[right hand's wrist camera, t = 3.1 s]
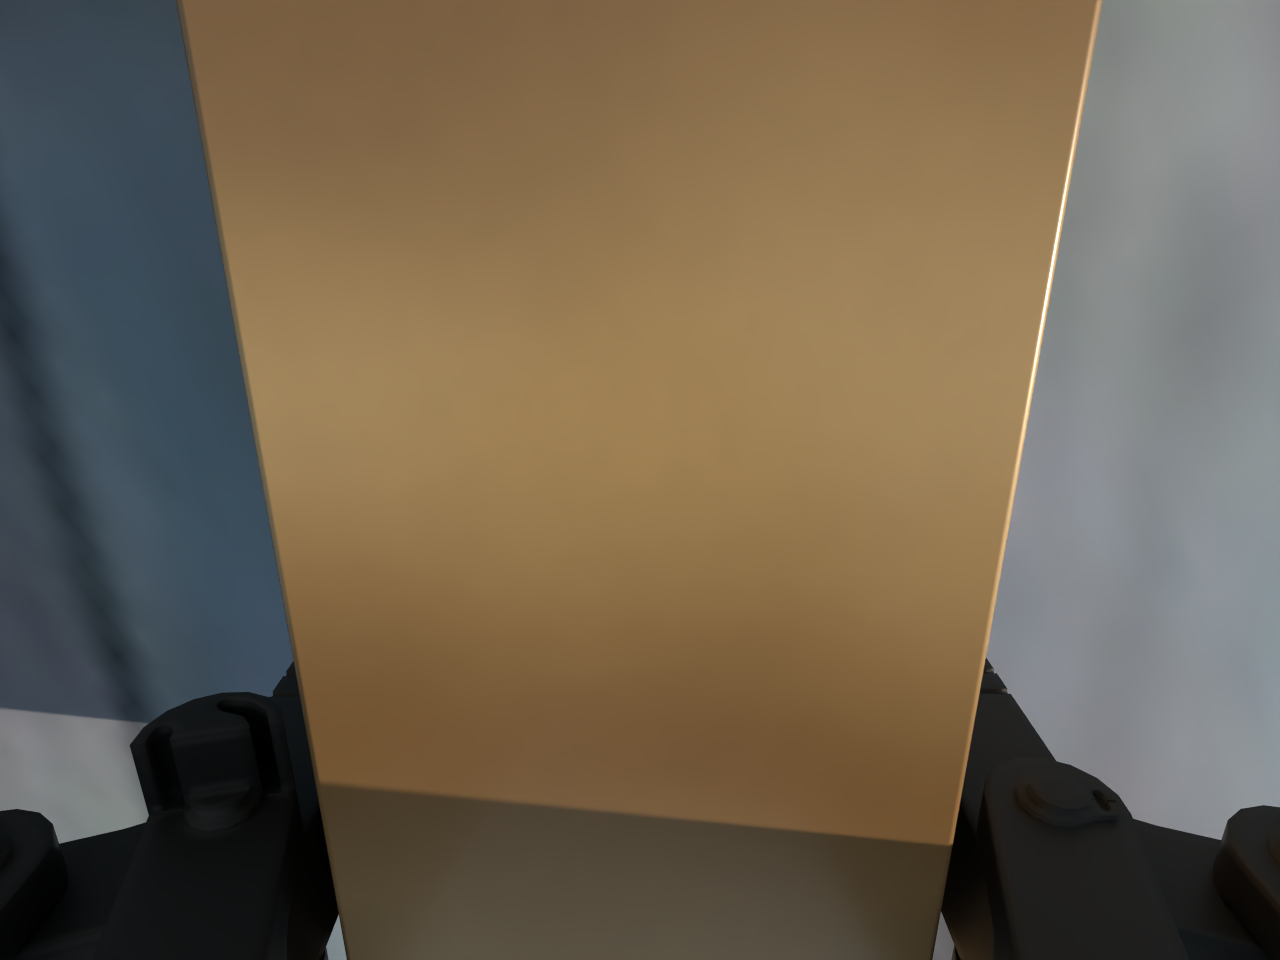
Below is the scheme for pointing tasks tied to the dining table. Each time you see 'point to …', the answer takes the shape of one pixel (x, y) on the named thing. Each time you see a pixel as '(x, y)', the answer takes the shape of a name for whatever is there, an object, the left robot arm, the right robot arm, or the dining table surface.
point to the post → (639, 443)
